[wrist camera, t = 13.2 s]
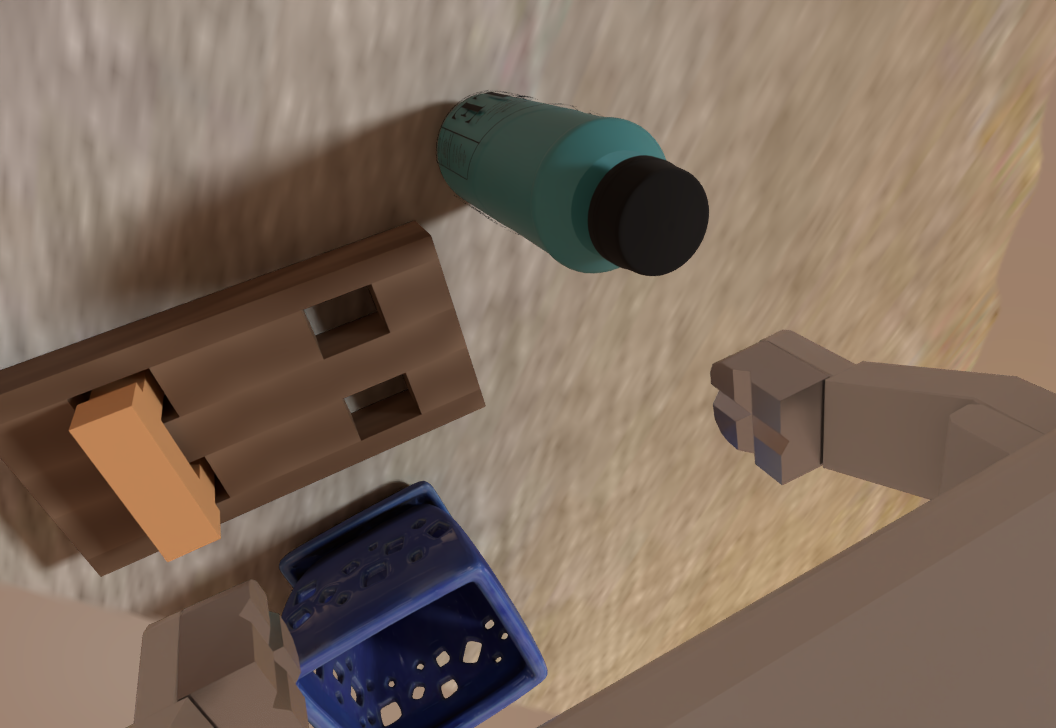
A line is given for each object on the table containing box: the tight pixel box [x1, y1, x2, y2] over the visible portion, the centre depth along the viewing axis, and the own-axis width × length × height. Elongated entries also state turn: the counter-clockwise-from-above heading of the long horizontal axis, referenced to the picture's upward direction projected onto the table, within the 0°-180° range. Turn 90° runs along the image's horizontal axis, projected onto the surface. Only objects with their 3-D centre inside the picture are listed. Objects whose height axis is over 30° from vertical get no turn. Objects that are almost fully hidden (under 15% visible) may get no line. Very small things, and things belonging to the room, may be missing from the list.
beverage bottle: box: [436, 90, 709, 276], centre depth 31 cm, size 6×7×20 cm
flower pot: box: [279, 481, 547, 728], centre depth 45 cm, size 13×13×12 cm
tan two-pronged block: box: [69, 368, 221, 562], centre depth 36 cm, size 9×3×7 cm, turn 14°
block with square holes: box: [0, 221, 485, 577], centre depth 39 cm, size 12×24×4 cm, turn 104°
